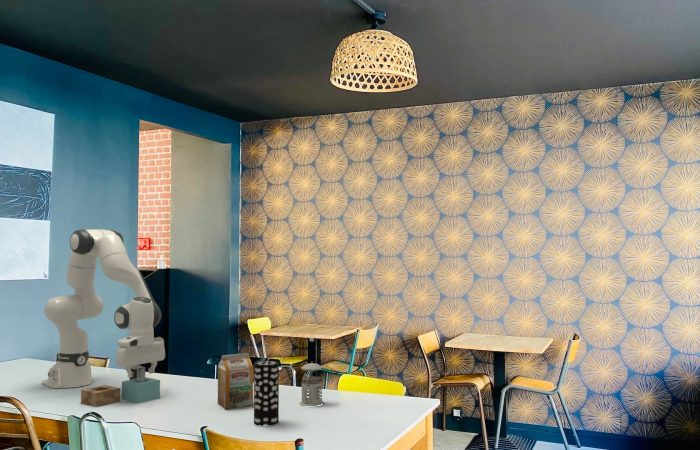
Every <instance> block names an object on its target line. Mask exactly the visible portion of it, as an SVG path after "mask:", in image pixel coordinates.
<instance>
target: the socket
mask: <svg viewBox="0 0 700 450" xmlns="http://www.w3.org/2000/svg"><path fill="white" fill-rule="evenodd" d="M121 391H122V387H116V386H112V385H107V384H103V385H98V386H93V387H87V388H83V389H81V390H80V404H82V405H86V406H91V407H94V408H98V407H102V406H107V405H112V404H115V403H117V404H118V403H120V402H121Z"/></svg>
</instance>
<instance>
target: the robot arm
mask: <svg viewBox="0 0 700 450" xmlns="http://www.w3.org/2000/svg"><path fill="white" fill-rule="evenodd" d="M69 247H70V249H71V253H70V255H69V259H68V260H69V261H68V266H67V273H66V275H65V276H66V278H65V279H66V283H67V284H68V285H69V286H71V287H72V288H74V295H70V294H69V295H59V296H55V297H52V298H49V299H47V302H45V305H44V313H45V317H46V318H47V319H48V321H50V322H51V323H53V324H54V325H55V327H56V328H57V332H58V333H59V346H60V347H59V348H60V349H59V353H58V354H57V362H55V364H54V365H52V367H50V368H49V370H48V372H47V379H45V380H42V381H41V382H42V383H41V384H42V385H45V386H47V387H48V388H50V389H63V388H65V389H67V388H78V387H85V386H88V385H91V384H92V382H94V381H95V379H94V378H93V377H92V366H91V365H92V364H91V362H90V361H89V358H90V353H89V352H90V351H89V347H88V346H89V333H87V331H86V330H84V329H82V328H80V326H79V324H78V321H79V320H89V319H92V318H95V317H98V316H100V315H101V314H102V312H103V310H104V302H103V299H102V298H101V296H100V295H98V294H97V292H96V290H95V284H94V282H95V276H96V274H95V273H96V267H97V262H98V260H99V264H100V268H101V271H102V272H103V274H104V276H105V277H106V278H108V279H110V280H111V281H114V282H118V283H121V284H124V285H127V286H129V287H130V288H131V289H132V290H133V291H134V293H135V296H136V297H133V298H132V299H131V300H130V302H128V303H127V304H124V305H120V306H119V307H117V309H116V311H115V313H114V320H113V321H114V324H115V326H117V328H118V329H120V330H129V334H128V335H127V336H125V337H123V338H121V339H119V340H117V346H118V347H117V349H116V356H115V364H116V365H117V367H119V368H124V370H125V371H126V373H127V378H128V379H129V378H131V377H134V373H133V372H131V370H130V369H131V367H132V366H133V365H138V364H140V365H143V364H144V365H145V364H148V363H150V364H151V365H150V367H149V368H148V374H150V375H151V374H152V375H153V374H155V368H156V367H157V365H158V362H160V361H164V359H165V358H166V349H165V340H164V338H163V337H161V336H157V337H154V335H155V334H154V328H155V327H156V326H157V325H158V324H160V321H161V320H162V319H161V318H162V310H161V308H160V306H159V305H158V304H157V302H156V301H155V299H154V297H153V295H152V292H151V290H150V289H149V287H148V284H147V282H146V280H145V278H144V276H143V274H142V272H141V271H140V270H139V268H136V267H135V265H134V264H133V263H132V261H131V260H130V259H129V258H130V257H129V256H128V252H127V249H126V246H125V244H124V237H123V235H122V233H121V232H119V231H117V230H113V229H111V230H108V229H100V228H97V229H85V228H83V229H77V230H75V231H73V233H72V234H71V235H70V238H69Z"/></svg>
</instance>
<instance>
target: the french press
mask: <svg viewBox="0 0 700 450" xmlns="http://www.w3.org/2000/svg"><path fill="white" fill-rule="evenodd" d="M308 341H309V342H315V338H314V337H310V338H309V340H308ZM300 369H301V370H303V371H309V372H310V371H311V372H313V371H320V370H322V369H323V366H321V364H318V363H315V362H314V363H313V362H311V363H306V364H304V365H302V366H301V367H300ZM311 372H310V373H309V374H308V375H307V373H306V372H305V373H304V375H303V377H302V381H301V401H300V402H299V404H300V405H302V406H301V407H304V406H317V405H321V404H323V403H325V402H324V401H323V395H322V394H323V392H322V391H323V381H322V380H321V379H322V377H321V376H313V375H311ZM299 404H298V405H299ZM300 405H299V406H300Z"/></svg>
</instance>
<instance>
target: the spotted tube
mask: <svg viewBox="0 0 700 450" xmlns="http://www.w3.org/2000/svg"><path fill="white" fill-rule="evenodd" d="M279 371H280V363H279V362H278V361H275V360H262V361H261V360H260V361H256V362H254V363H253V424H254V425H255V424H256V425H255V426H258V425H261V426H260V427H264V426H263V425H271V426H275V425H278V424H279V419H280V418H279V416H280V415H279V414H280V413H279V409H280V408H279V406H280V404H279V403H280V402H279V401H280V400H279V399H280V397H279V395H280V393H279V391H280V389H279V388H280V387H279V386H280V385H279V383H280V382H279V381H280V380H279V379H280V378H279V377H280V376H279V375H280V374H279V373H280V372H279ZM274 424H275V425H274Z"/></svg>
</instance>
